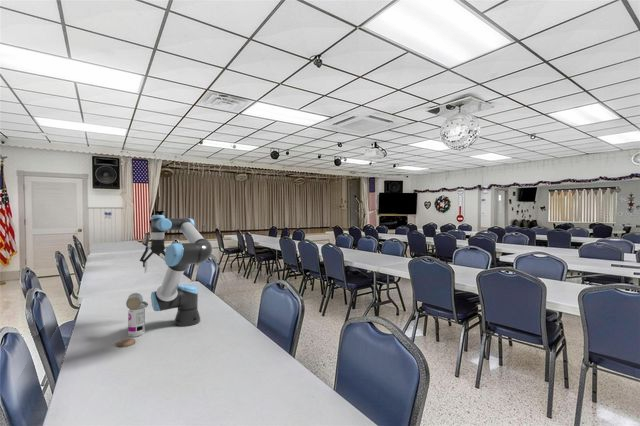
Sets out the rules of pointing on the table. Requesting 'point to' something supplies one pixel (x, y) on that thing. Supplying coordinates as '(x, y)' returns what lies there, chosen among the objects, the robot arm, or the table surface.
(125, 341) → the walnut coaster
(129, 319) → the supplement can
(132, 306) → the ceramic mug
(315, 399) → the table surface
